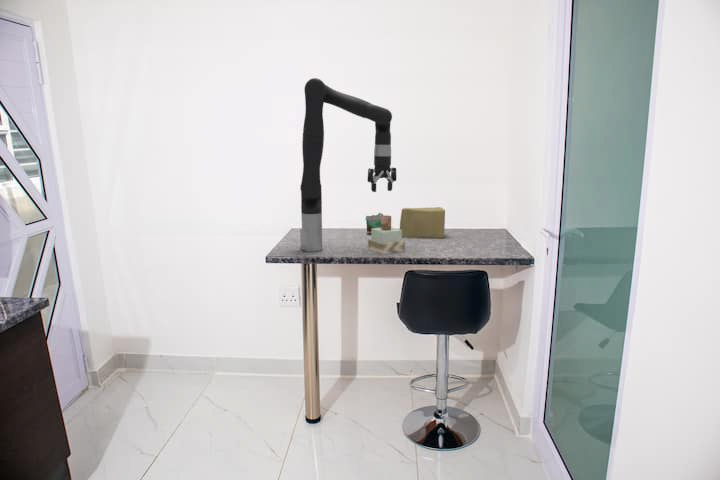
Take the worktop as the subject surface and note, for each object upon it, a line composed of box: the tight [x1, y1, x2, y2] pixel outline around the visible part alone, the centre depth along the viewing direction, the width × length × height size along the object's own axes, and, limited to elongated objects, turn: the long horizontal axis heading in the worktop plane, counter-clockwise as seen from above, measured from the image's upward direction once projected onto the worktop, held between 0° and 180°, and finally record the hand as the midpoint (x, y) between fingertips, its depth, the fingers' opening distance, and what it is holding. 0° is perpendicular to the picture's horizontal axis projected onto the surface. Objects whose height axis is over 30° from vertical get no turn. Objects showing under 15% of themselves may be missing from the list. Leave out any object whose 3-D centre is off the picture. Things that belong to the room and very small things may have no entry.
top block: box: [370, 226, 403, 244], centre depth 231 cm, size 10×10×5 cm
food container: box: [365, 212, 385, 235], centre depth 267 cm, size 12×6×10 cm, turn 143°
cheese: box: [399, 206, 446, 239], centre depth 258 cm, size 22×10×15 cm, turn 94°
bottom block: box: [367, 238, 406, 256], centre depth 232 cm, size 12×12×5 cm
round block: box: [381, 214, 392, 230], centre depth 230 cm, size 5×5×6 cm
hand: (381, 191), depth 229 cm, fingers open, 8 cm apart
